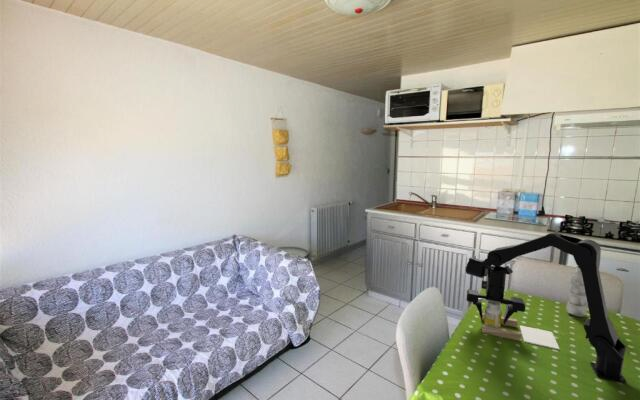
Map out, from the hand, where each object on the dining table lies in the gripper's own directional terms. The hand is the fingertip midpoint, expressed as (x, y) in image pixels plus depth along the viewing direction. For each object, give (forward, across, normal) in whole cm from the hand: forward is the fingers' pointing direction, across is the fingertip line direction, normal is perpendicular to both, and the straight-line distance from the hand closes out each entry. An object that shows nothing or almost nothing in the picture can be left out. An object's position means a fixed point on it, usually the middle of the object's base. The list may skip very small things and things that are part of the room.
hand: (492, 321), depth 115 cm
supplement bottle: (+3, 0, 0) cm, 3 cm away
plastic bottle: (+3, -32, -26) cm, 41 cm away
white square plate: (+3, -14, 0) cm, 15 cm away
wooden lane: (+2, -2, 0) cm, 4 cm away
